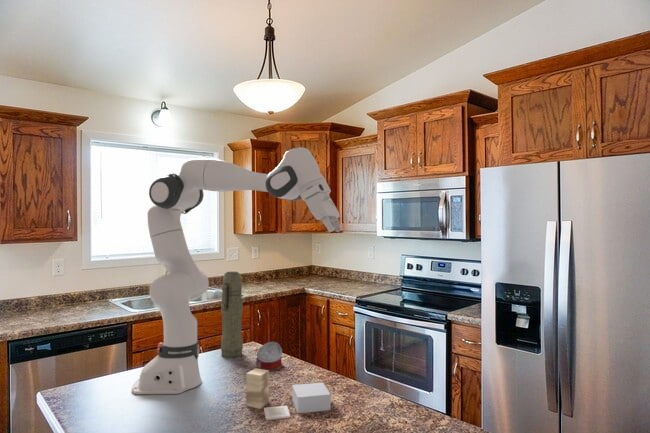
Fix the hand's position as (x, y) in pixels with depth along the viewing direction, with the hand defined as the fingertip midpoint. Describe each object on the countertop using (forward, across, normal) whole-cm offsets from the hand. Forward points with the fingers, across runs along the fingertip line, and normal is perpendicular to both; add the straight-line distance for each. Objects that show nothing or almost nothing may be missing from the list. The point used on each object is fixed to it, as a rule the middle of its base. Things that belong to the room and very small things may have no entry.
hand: (335, 231), depth 139 cm
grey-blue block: (+45, +3, -31) cm, 54 cm away
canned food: (+32, -28, -54) cm, 69 cm away
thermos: (+22, -37, -72) cm, 84 cm away
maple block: (+37, +7, -45) cm, 59 cm away
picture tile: (+41, +12, -38) cm, 57 cm away
